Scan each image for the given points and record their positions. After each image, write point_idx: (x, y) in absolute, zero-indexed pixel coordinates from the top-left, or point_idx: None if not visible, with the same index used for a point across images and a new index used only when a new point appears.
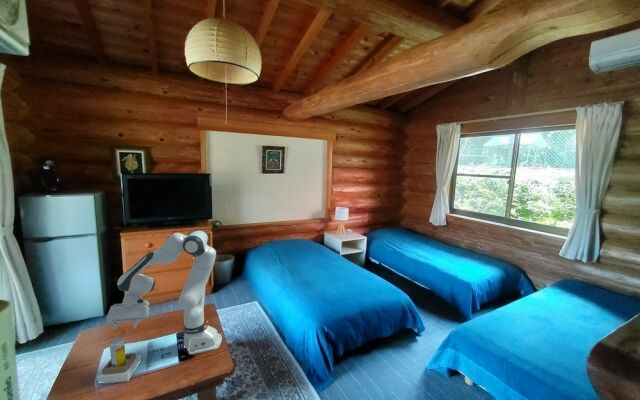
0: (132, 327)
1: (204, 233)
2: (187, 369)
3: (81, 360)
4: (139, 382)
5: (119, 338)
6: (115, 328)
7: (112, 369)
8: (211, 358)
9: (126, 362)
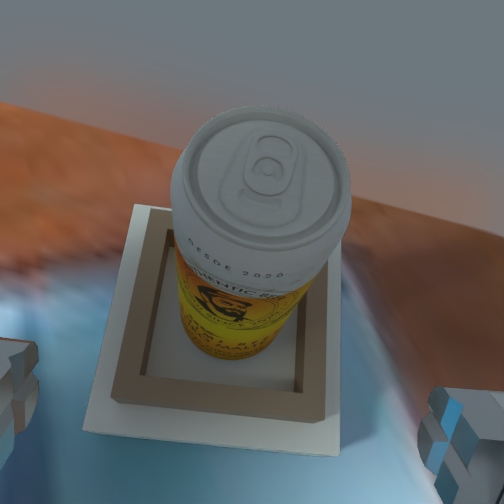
0: (21, 343)
1: None
2: None
3: None
4: (63, 200)
5: (248, 221)
6: (447, 390)
7: None
8: None
9: (185, 343)
